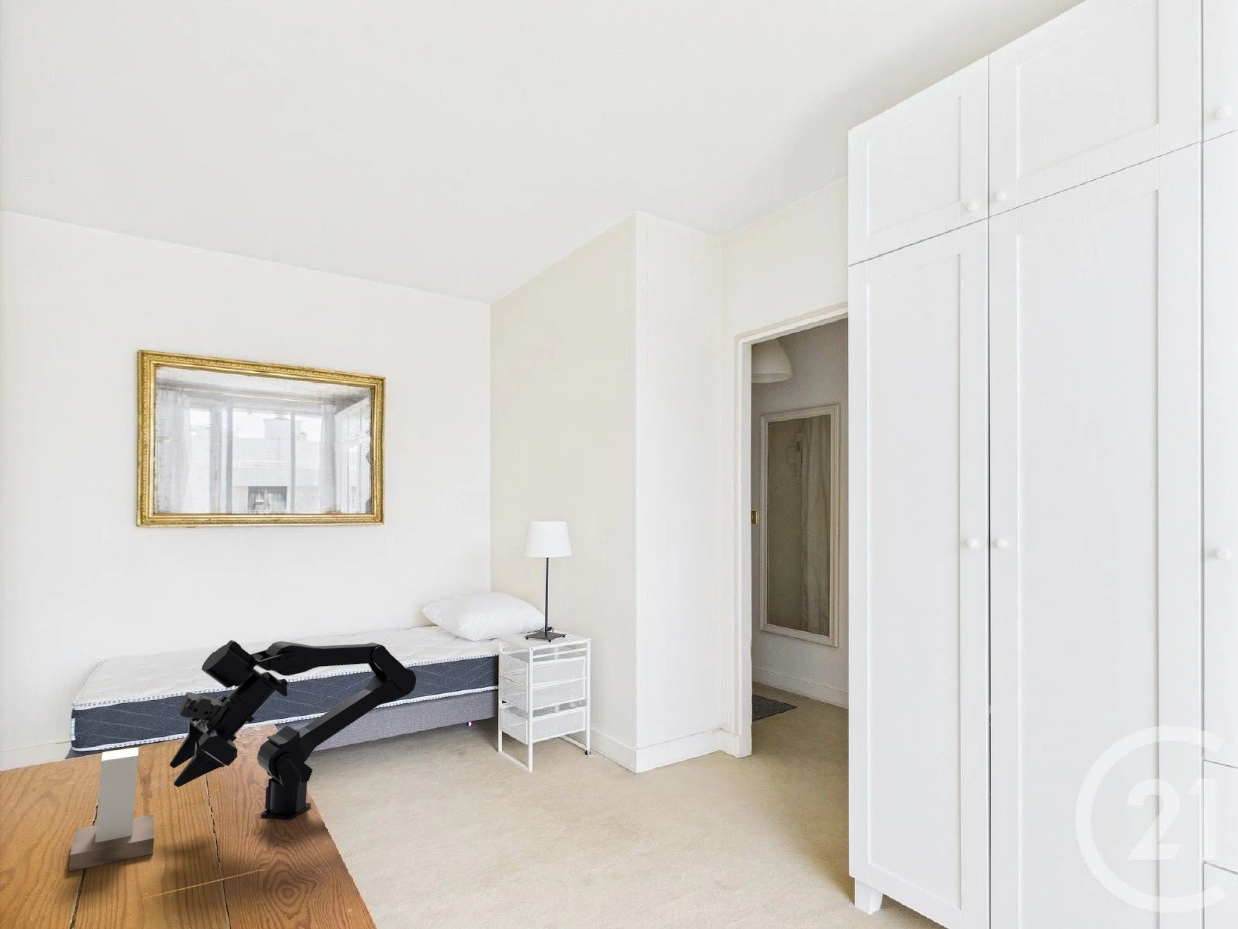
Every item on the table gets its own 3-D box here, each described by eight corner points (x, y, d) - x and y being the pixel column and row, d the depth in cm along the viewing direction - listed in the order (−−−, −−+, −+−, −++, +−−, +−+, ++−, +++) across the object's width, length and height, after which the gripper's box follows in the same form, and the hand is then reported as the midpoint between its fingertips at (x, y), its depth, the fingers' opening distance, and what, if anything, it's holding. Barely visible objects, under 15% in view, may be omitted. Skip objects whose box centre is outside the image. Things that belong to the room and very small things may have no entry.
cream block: (132, 824, 120) (138, 747, 121) (132, 835, 116) (138, 755, 117) (96, 831, 117) (102, 752, 118) (95, 843, 113) (101, 761, 114)
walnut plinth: (151, 829, 124) (152, 814, 124) (152, 853, 115) (154, 838, 115) (74, 844, 118) (75, 829, 118) (68, 871, 109) (70, 855, 109)
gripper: (204, 664, 133) (132, 733, 126) (217, 689, 118) (136, 770, 111) (249, 697, 138) (182, 766, 131) (267, 726, 123) (193, 806, 116)
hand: (173, 776), depth 122 cm, fingers open, 9 cm apart
